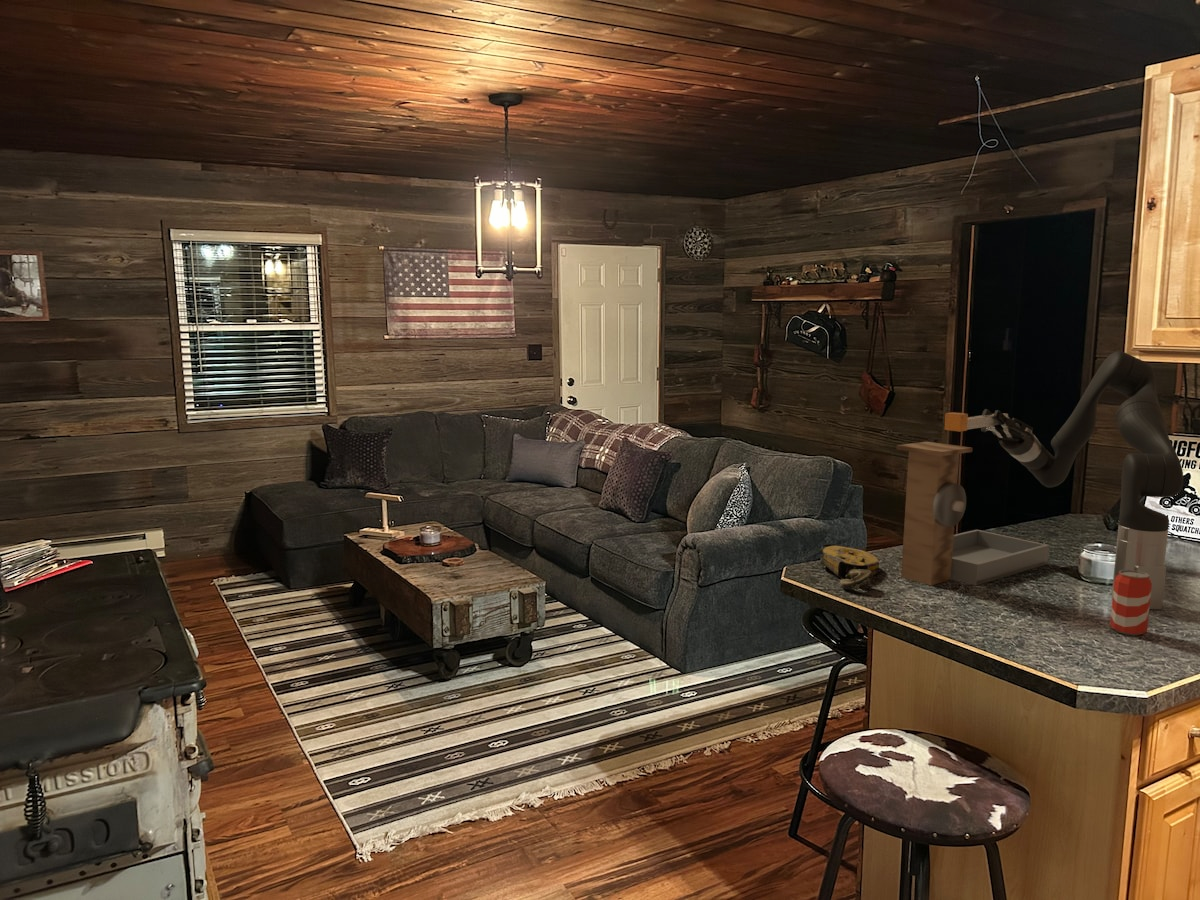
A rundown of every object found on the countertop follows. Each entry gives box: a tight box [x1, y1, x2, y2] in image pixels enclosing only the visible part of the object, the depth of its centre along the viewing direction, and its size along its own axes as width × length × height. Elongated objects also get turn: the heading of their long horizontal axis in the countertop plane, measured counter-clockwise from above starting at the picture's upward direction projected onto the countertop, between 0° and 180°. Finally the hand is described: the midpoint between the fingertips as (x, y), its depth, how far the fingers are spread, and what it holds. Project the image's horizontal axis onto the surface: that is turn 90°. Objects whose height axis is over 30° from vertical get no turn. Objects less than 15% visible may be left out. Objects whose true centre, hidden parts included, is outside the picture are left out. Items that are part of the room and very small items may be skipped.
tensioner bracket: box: [896, 441, 974, 586], centre depth 208 cm, size 12×14×32 cm
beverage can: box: [1109, 570, 1152, 636], centre depth 175 cm, size 6×6×12 cm
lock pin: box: [944, 411, 1009, 433], centre depth 216 cm, size 22×4×4 cm, turn 126°
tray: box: [951, 529, 1050, 586], centre depth 223 cm, size 32×20×5 cm, turn 125°
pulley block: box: [818, 543, 880, 590], centre depth 213 cm, size 14×6×30 cm
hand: (990, 413), depth 218 cm, fingers closed on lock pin, 2 cm apart
